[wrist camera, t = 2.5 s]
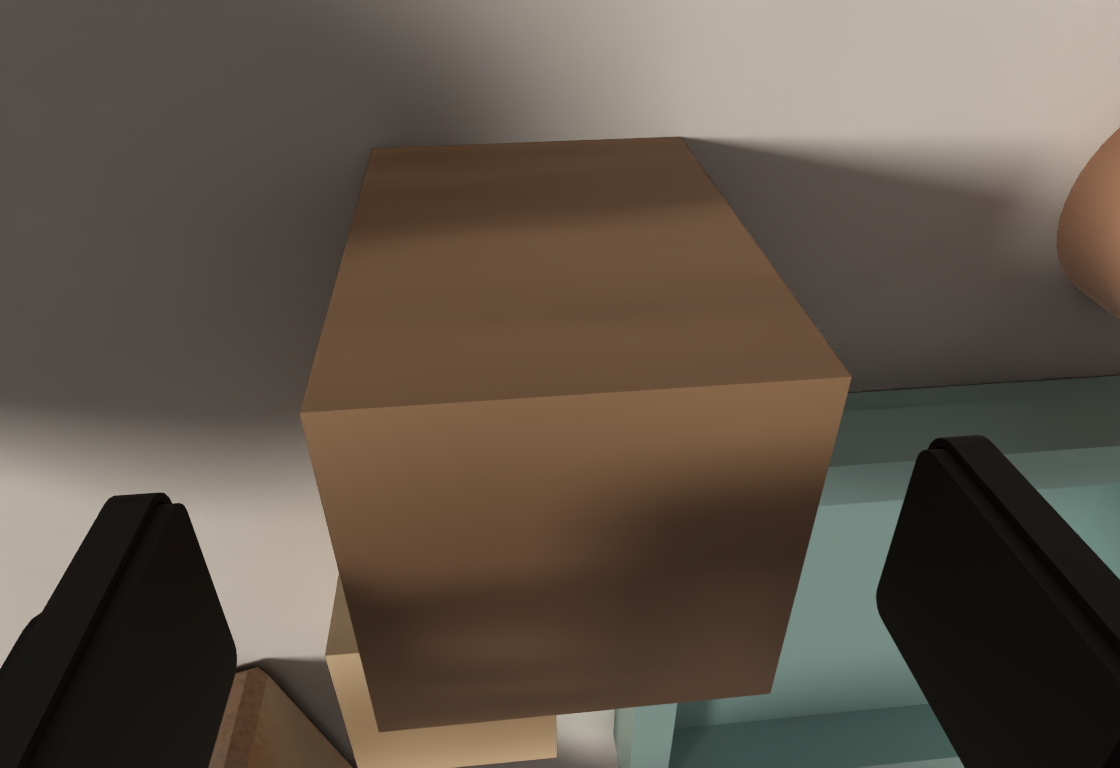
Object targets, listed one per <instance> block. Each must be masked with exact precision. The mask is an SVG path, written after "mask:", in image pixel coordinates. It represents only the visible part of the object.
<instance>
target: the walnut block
mask: <svg viewBox="0 0 1120 768" xmlns="http://www.w3.org/2000/svg"><path fill="white" fill-rule="evenodd" d="M851 378H852V376H851V375H850V374H849V372H848V371H847V369H846V368H845V367H844V365H843V364H842V362H841V361H840V360H839V358H838V357H837V355H836V354H835V353H834V351H833V350H832V348H831V347H830V346H829V344H828V343H827V341H826V340H825V339H824V337H823V336H822V334H821V333H820V332H819V330H818V329H817V327H816V326H815V325H814V323H813V322H812V320H811V319H810V318H809V316H808V315H807V313H806V312H805V311H804V309H803V308H802V306H801V305H800V304H799V302H798V301H797V299H796V298H795V297H794V295H793V294H792V292H791V291H790V290H789V288H788V287H787V285H786V284H785V283H784V281H783V280H782V278H781V277H780V276H779V274H778V273H777V271H776V270H775V269H774V267H773V266H772V264H771V263H770V262H769V260H768V259H767V257H766V256H765V255H764V253H763V252H762V250H761V249H760V248H759V246H758V245H757V243H756V242H755V241H754V239H753V238H752V237H751V235H750V234H749V232H748V231H747V230H746V228H745V227H744V225H743V224H742V223H741V221H740V220H739V218H738V217H737V216H736V214H735V213H734V211H733V210H732V209H731V207H730V206H729V204H728V203H727V202H726V200H725V199H724V197H723V196H722V195H721V193H720V192H719V190H718V189H717V188H716V186H715V185H714V183H713V182H712V181H711V179H710V178H709V176H708V175H707V174H706V172H705V171H704V169H703V168H702V167H701V165H700V164H699V162H698V161H697V160H696V158H695V157H694V155H693V154H692V153H691V151H690V150H689V148H688V147H687V146H686V144H685V143H684V141H683V140H682V139H681V137H658V138H631V139H605V140H578V141H551V142H525V143H498V144H472V145H445V146H419V147H392V148H372V152H371V155H370V159H369V162H368V166H367V170H366V173H365V177H364V181H363V184H362V188H361V191H360V195H359V199H358V202H357V206H356V210H355V213H354V217H353V220H352V224H351V228H350V231H349V235H348V239H347V242H346V246H345V249H344V253H343V257H342V260H341V264H340V267H339V271H338V275H337V278H336V282H335V286H334V289H333V293H332V296H331V300H330V304H329V307H328V311H327V315H326V318H325V322H324V325H323V329H322V333H321V336H320V340H319V344H318V347H317V351H316V354H315V358H314V362H313V365H312V369H311V372H310V376H309V380H308V383H307V387H306V391H305V394H304V398H303V401H302V405H301V409H300V412H299V413H300V417H301V421H302V426H303V430H304V434H305V438H306V442H307V446H308V450H309V454H310V458H311V462H312V466H313V470H314V474H315V478H316V482H317V486H318V490H319V494H320V498H321V502H322V506H323V510H324V514H325V518H326V522H327V526H328V530H329V534H330V538H331V542H332V546H333V550H334V554H335V558H336V562H337V566H338V570H339V574H340V578H341V582H342V586H343V590H344V594H345V598H346V602H347V606H348V610H349V614H350V618H351V622H352V626H353V630H354V634H355V638H356V642H357V646H358V650H359V654H360V659H361V663H362V667H363V671H364V675H365V679H366V683H367V687H368V691H369V695H370V699H371V703H372V707H373V711H374V715H375V719H376V723H377V727H378V731H379V732H388V731H399V730H409V729H419V728H429V727H439V726H449V725H459V724H469V723H480V722H490V721H500V720H510V719H520V718H530V717H540V716H551V715H561V714H571V713H581V712H591V711H601V710H611V709H622V708H632V707H642V706H652V705H662V704H672V703H682V702H692V701H703V700H713V699H723V698H733V697H743V696H753V695H763V694H770V693H771V689H772V685H773V681H774V678H775V674H776V670H777V666H778V662H779V658H780V654H781V650H782V646H783V643H784V639H785V635H786V631H787V627H788V623H789V619H790V615H791V611H792V608H793V604H794V600H795V596H796V592H797V588H798V584H799V580H800V576H801V573H802V569H803V565H804V561H805V557H806V553H807V549H808V545H809V541H810V538H811V534H812V530H813V526H814V522H815V518H816V514H817V510H818V506H819V503H820V499H821V495H822V491H823V487H824V483H825V479H826V475H827V471H828V468H829V464H830V460H831V456H832V452H833V448H834V444H835V440H836V436H837V433H838V429H839V425H840V421H841V417H842V413H843V409H844V405H845V401H846V398H847V394H848V390H849V386H850V382H851Z"/></svg>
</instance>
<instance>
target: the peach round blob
mask: <svg viewBox="0 0 1120 768" xmlns="http://www.w3.org/2000/svg"><path fill="white" fill-rule="evenodd" d="M1057 252H1058V259H1059V262H1060V265H1061V268H1062V270H1063V272H1064V274H1065V276H1066V278H1067V279H1068V280H1069V281H1070V282H1071V284H1072V285H1073V286H1074V287H1076V288H1077V289H1078V290H1079V291H1081V292H1082V293H1083V294H1085V295H1086V296H1087V297H1089V298H1090V299H1091V300H1093V301H1094V302H1095V303H1097V304H1098V305H1099V306H1101V307H1102V308H1103V309H1105V310H1106V311H1107V312H1109V313H1110V314H1111V315H1113V316H1114V317H1115V318H1117V319H1118V320H1119V321H1120V128H1119V129H1118V130H1117V131H1116V132H1115V133H1114V134H1113V135H1112V136H1111V137H1110V138H1109V139H1108V140H1107V141H1106V142H1105V143H1104V144H1103V145H1102V146H1101V147H1100V148H1099V150H1098V151H1097V152H1096V153H1095V154H1094V155H1093V157H1092V158H1091V159H1090V160H1089V162H1088V163H1087V165H1086V166H1085V168H1084V169H1083V170H1082V172H1081V173H1080V175H1079V177H1078V178H1077V180H1076V182H1075V184H1074V185H1073V187H1072V189H1071V191H1070V193H1069V195H1068V198H1067V200H1066V202H1065V204H1064V208H1063V211H1062V214H1061V217H1060V221H1059V226H1058V231H1057Z"/></svg>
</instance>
